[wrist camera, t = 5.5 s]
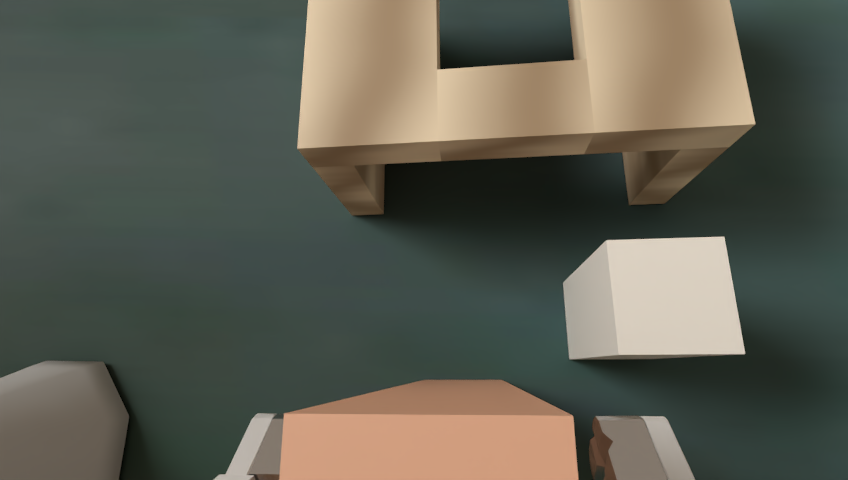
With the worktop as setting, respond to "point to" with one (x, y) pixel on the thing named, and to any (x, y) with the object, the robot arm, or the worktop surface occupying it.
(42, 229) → the worktop surface
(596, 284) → the short block
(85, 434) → the flask
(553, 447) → the long pin
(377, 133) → the tan block with hole
